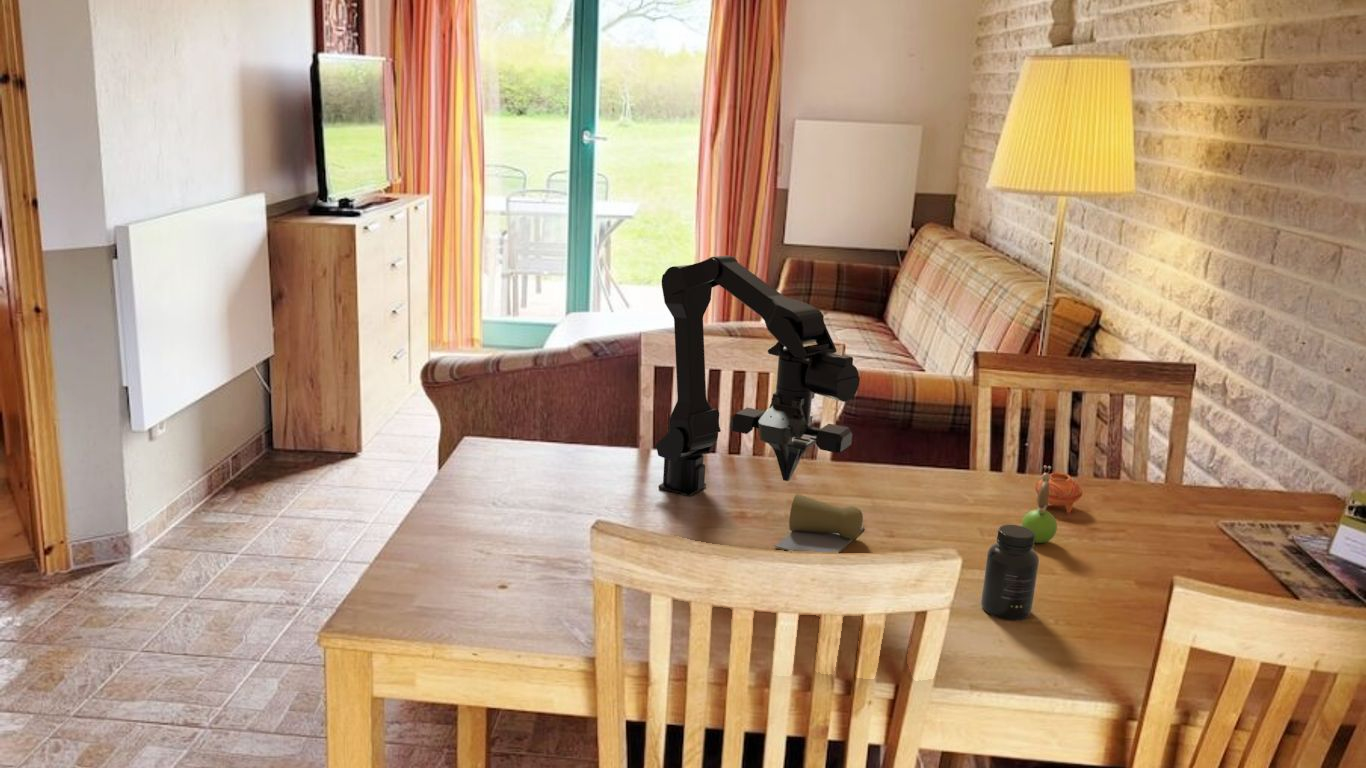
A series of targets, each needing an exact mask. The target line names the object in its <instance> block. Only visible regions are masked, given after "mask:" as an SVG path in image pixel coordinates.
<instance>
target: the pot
mask: <svg viewBox="0 0 1366 768" xmlns="http://www.w3.org/2000/svg"><path fill="white" fill-rule="evenodd" d="M1049 475H1050V480H1049V485H1050V487H1049V499H1048V505H1049V504H1050V505H1052V506H1058V507H1059V506H1060V507H1065V510H1066V514H1070V513H1071V511H1072V509H1073V505H1074V503H1076V502H1077V501H1078V500H1079V499H1080V498H1082V496H1083V490H1082V488H1081V486H1080V484H1079V483H1078V482H1076V481H1075V480H1074V479H1073V478H1072V476H1071V475H1070V474H1067V473H1064V472H1058V471H1057V472H1051V473H1049ZM1041 483H1042V478H1041V479H1040V480H1039V481H1038V482H1037V483H1036V484H1035V487H1034V489H1035V491H1036V493H1037V494H1038V491H1039V487H1040V486H1041Z"/></svg>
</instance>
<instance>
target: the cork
mask: <svg viewBox="0 0 1366 768" xmlns="http://www.w3.org/2000/svg"><path fill="white" fill-rule="evenodd" d="M863 520H864V519H863V512H862V510H861V509H860V508H859V507H856V506H853V505H852V506H850V505H849V506H848V505H847V506H845V507H840V506H836V505H835V504H831V503H828V502H824V501H822V500H818V499H815V498H811V497H808V496H805V495H802V494H799V493H796V494H795V495H794V497H793V500H792V503H791V508H790V514H789V522H788V526H789V528H788V529H789V530H790V531H791V532H793V531H808V532H824V533H839V534H840V535H841V536H842V537H844V538H847V539H853V540H854V539H857V538H858V537H859V535H860V533H861V532H862V531H861V528H862V526H863V522H864V521H863ZM860 531H861V532H860Z"/></svg>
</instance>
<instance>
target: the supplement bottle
mask: <svg viewBox="0 0 1366 768" xmlns="http://www.w3.org/2000/svg"><path fill="white" fill-rule="evenodd" d="M1034 537H1035V534H1034V532H1033V531H1032V530H1030V529H1028V528H1026V527H1023V526H1022V525H1017V524H1004V525H1001V526H999V527H998V530H997V537H996V543H994V544H992V545H991V546H990V547H989V548H988V550H987V555H986V556H987V557H986V563H985V570H984V577H983V586H982V592H981V593H982V594H981V602H980V603H981V607H982V608H983V610H984V612H986V613H987V614H989V615H990V616H993V617H994V618H998V619H1002V620H1006V621H1022V620H1025V619H1026V618H1029V616H1030V615H1031V613H1032V609H1033V604H1034V597H1035V596H1034V595H1035V590H1036V589H1035V588H1036V583H1037V576H1038V570H1039V563H1040V562H1039V561H1040V560H1039V559H1040V558H1039V556H1038V553H1037V552H1036V551H1035V549H1033V548H1034V547H1035V542H1034Z"/></svg>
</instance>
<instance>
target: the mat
mask: <svg viewBox="0 0 1366 768" xmlns="http://www.w3.org/2000/svg"><path fill="white" fill-rule="evenodd" d="M864 529H865V526H864V525H862V528H861V531H860V533H862V532H863V531H864ZM853 540H854V539H847V538H844V537H842V536H841V535H840V534H839V533H824V532H808V531H791V532H790V533H789V534H788V535H787V536H785V538H783V539H782V540H781V541H780V542H779V543H777V544H776V545H775V547H777V548H775V549H777V550H780V549H781V550H780V551H784V550H793V551H814V552H840V553H841V552H842V551H843V550H844V549H845V548H846V547H847V546H848V545H849V544H850V543H851V542H853Z"/></svg>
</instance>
